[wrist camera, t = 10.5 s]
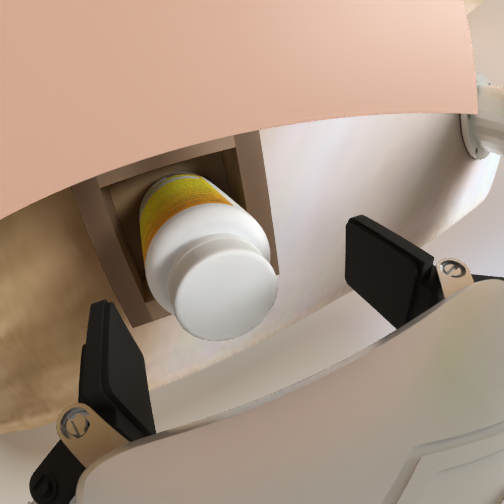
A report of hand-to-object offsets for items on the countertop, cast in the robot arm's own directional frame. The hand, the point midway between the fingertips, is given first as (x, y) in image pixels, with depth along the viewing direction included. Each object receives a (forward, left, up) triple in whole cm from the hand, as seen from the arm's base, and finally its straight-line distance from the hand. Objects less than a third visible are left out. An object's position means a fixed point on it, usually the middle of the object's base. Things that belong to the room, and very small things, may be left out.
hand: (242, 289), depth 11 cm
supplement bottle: (+1, 0, -10) cm, 10 cm away
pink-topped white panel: (+1, -10, -10) cm, 14 cm away
